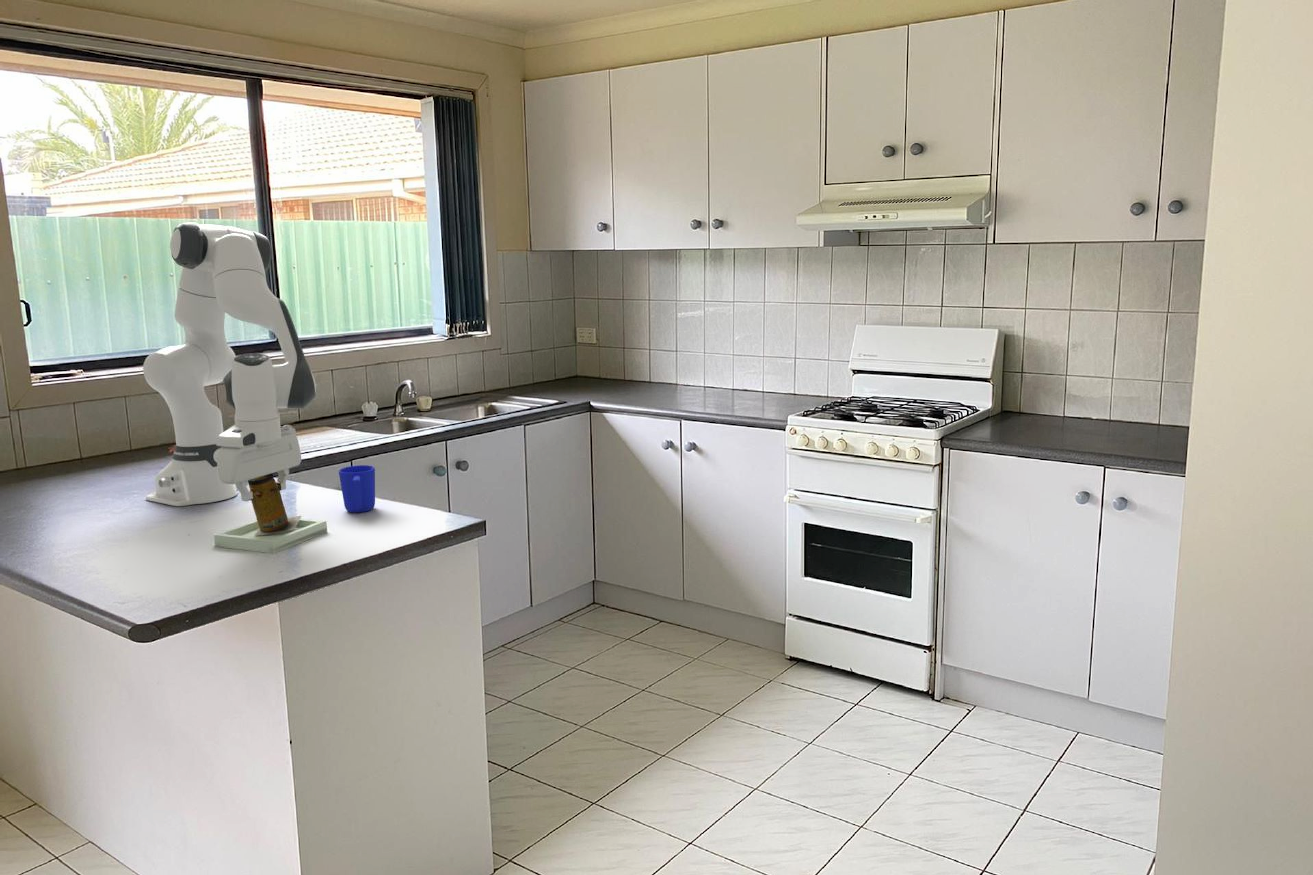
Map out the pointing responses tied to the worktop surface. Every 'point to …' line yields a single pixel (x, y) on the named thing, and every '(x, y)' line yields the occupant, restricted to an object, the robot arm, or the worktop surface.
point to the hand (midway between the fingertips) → (264, 495)
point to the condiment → (270, 506)
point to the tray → (269, 536)
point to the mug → (358, 487)
